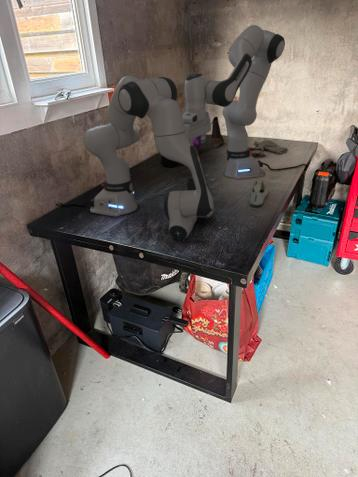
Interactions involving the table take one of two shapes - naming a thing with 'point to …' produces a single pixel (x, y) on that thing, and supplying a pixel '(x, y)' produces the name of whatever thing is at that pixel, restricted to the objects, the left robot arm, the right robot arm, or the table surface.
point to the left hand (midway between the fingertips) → (193, 201)
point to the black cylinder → (190, 183)
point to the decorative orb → (196, 142)
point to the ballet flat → (258, 193)
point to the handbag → (168, 162)
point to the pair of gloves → (268, 146)
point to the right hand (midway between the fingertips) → (197, 145)
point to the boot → (216, 133)
